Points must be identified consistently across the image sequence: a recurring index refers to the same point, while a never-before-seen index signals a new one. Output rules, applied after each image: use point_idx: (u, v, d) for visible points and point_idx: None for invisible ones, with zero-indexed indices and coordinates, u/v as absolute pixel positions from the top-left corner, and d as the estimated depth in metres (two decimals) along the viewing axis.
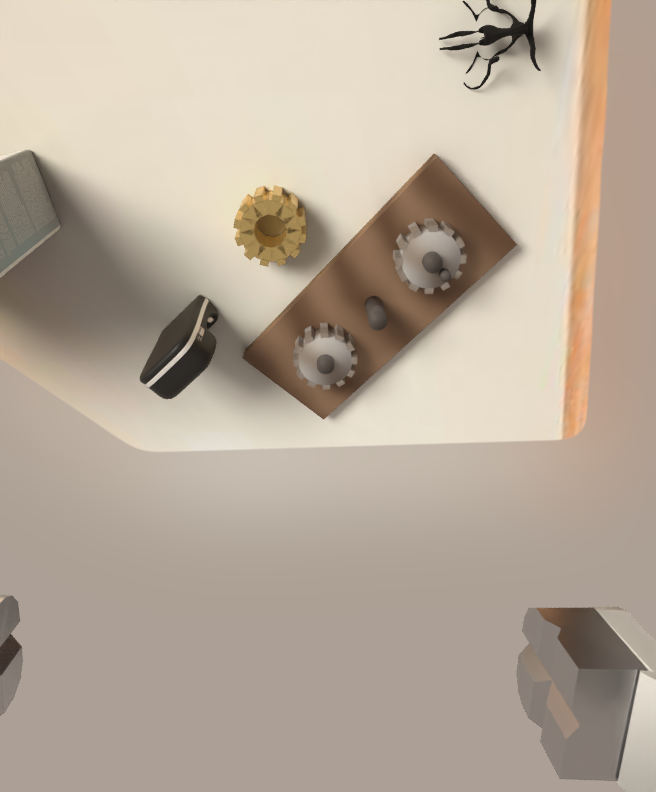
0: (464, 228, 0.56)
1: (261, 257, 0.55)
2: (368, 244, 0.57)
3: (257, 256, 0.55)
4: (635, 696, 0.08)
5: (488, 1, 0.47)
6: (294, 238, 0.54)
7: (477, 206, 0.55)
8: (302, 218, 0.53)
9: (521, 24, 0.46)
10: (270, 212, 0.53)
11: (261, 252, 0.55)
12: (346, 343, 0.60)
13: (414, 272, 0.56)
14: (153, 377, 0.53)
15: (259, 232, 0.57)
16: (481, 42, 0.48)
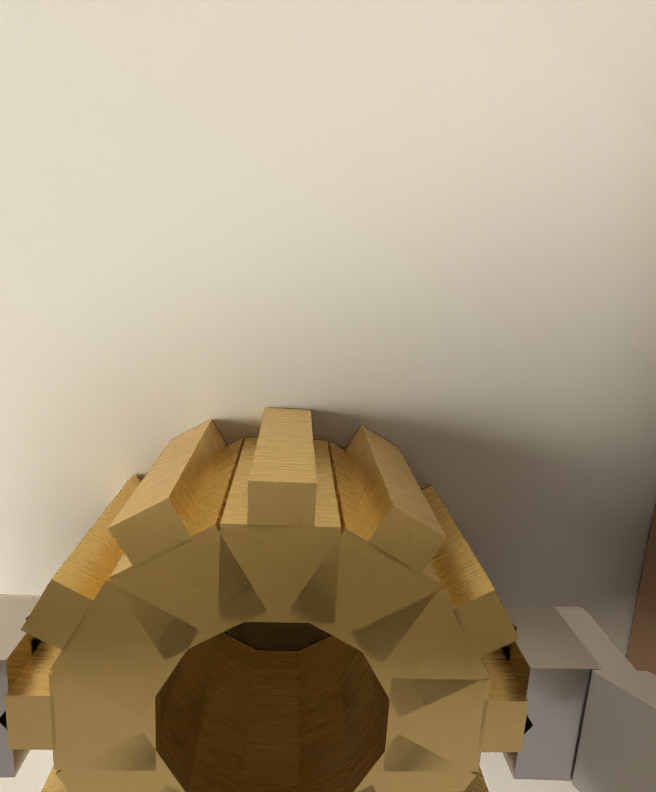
0: None
1: None
2: None
3: None
4: (587, 695, 0.08)
5: None
6: (439, 658, 0.07)
7: None
8: (397, 519, 0.07)
9: None
10: (189, 632, 0.07)
11: None
12: None
13: None
14: None
15: (260, 673, 0.11)
16: None
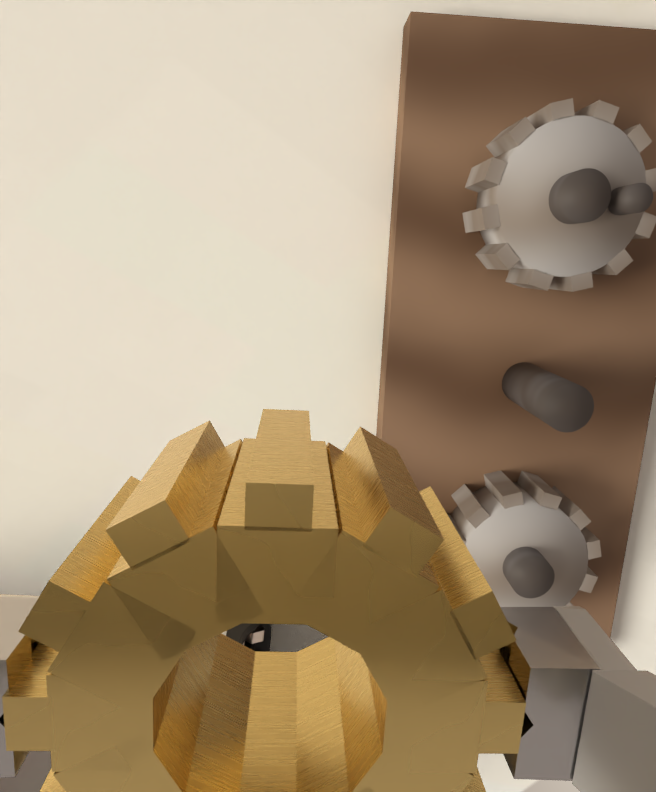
0: (581, 97, 0.23)
1: None
2: (420, 283, 0.24)
3: None
4: (588, 695, 0.08)
5: None
6: (436, 659, 0.07)
7: (571, 32, 0.22)
8: (395, 521, 0.07)
9: None
10: (187, 634, 0.07)
11: None
12: (534, 497, 0.24)
13: (556, 251, 0.22)
14: None
15: (258, 674, 0.11)
16: None
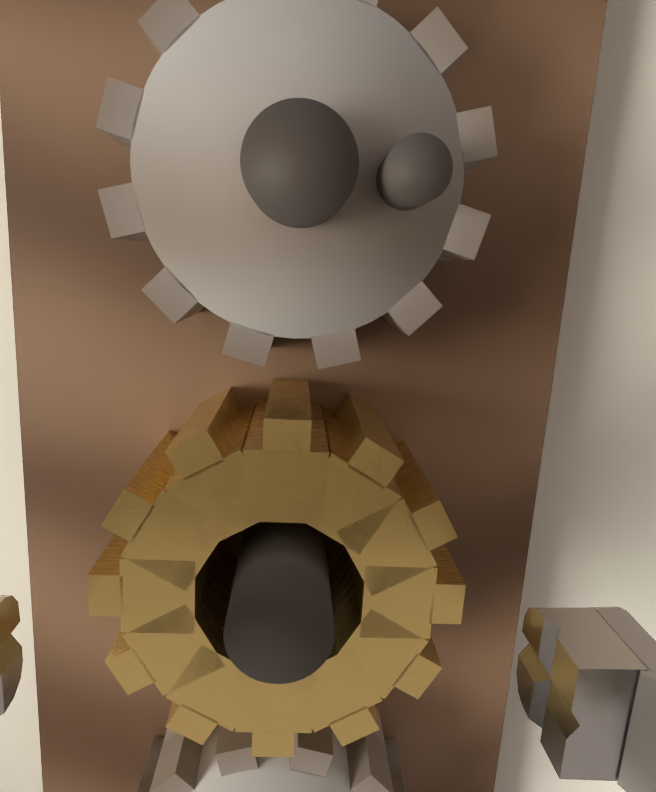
0: None
1: (326, 717, 0.11)
2: (70, 338, 0.13)
3: (311, 726, 0.11)
4: (635, 696, 0.08)
5: None
6: (399, 551, 0.10)
7: None
8: (369, 447, 0.10)
9: None
10: (221, 529, 0.10)
11: (311, 700, 0.11)
12: None
13: (275, 286, 0.10)
14: None
15: None
16: None
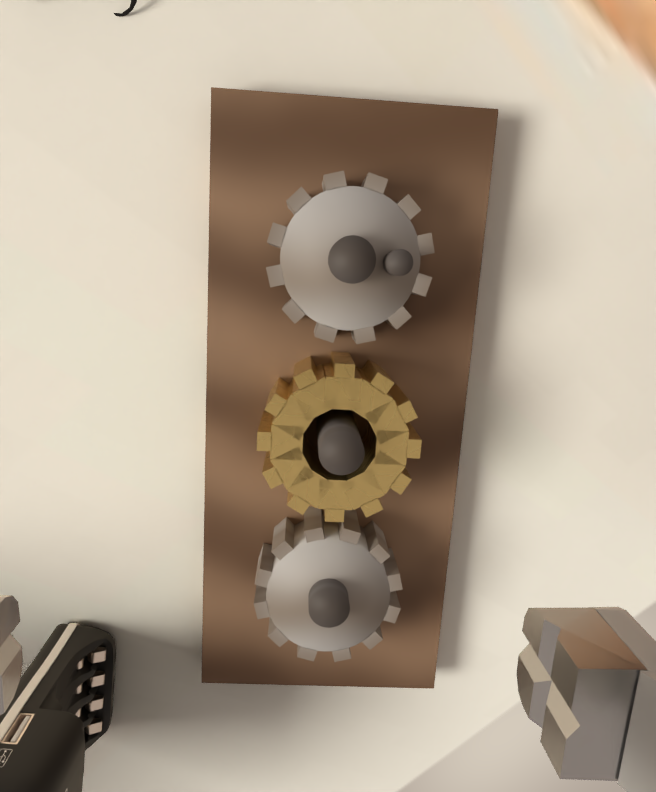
0: (374, 164, 0.25)
1: (359, 502, 0.24)
2: (233, 331, 0.26)
3: (352, 506, 0.24)
4: (635, 696, 0.08)
5: None
6: (392, 423, 0.24)
7: (361, 107, 0.24)
8: (379, 376, 0.23)
9: None
10: (315, 412, 0.23)
11: (352, 494, 0.24)
12: (339, 532, 0.26)
13: (339, 307, 0.23)
14: None
15: None
16: None
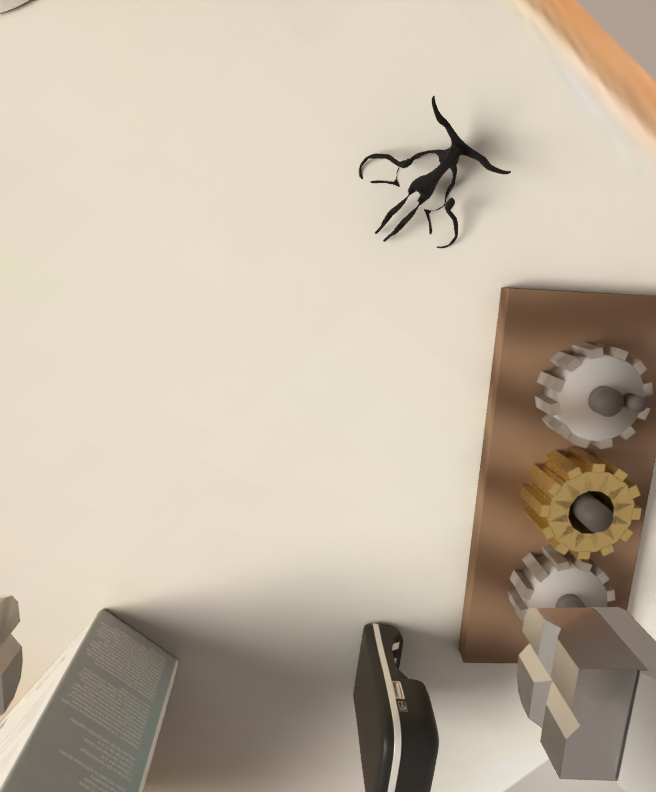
0: (606, 332, 0.39)
1: (599, 547, 0.39)
2: (508, 435, 0.40)
3: (595, 549, 0.39)
4: (635, 696, 0.08)
5: (395, 161, 0.36)
6: (624, 498, 0.38)
7: (600, 298, 0.38)
8: (619, 471, 0.37)
9: (449, 150, 0.34)
10: (578, 493, 0.38)
11: (596, 542, 0.38)
12: (575, 564, 0.41)
13: (592, 427, 0.38)
14: None
15: None
16: (421, 199, 0.36)
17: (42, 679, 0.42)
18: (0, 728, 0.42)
